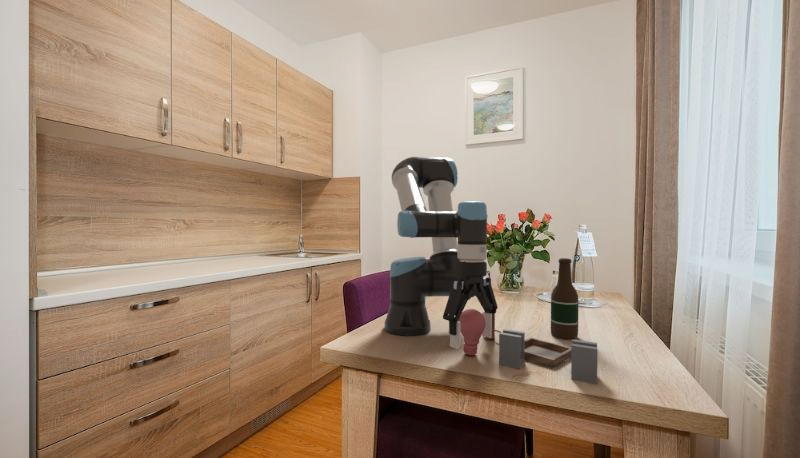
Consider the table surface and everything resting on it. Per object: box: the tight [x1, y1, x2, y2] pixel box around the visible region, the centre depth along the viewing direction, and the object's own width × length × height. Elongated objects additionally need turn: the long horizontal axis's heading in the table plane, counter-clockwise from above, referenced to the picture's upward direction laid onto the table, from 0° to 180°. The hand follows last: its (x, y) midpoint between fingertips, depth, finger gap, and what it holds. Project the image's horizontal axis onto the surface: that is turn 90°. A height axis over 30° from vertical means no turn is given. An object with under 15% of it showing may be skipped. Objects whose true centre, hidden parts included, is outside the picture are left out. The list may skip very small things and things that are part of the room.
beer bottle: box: [550, 257, 580, 340], centre depth 108 cm, size 8×8×24 cm
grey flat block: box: [570, 339, 598, 385], centre depth 78 cm, size 5×5×8 cm
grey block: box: [498, 328, 526, 370], centre depth 86 cm, size 5×5×8 cm
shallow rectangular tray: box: [524, 337, 572, 369], centre depth 92 cm, size 12×12×2 cm
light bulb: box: [458, 308, 486, 356], centre depth 91 cm, size 7×7×12 cm
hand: (471, 341), depth 91 cm, fingers open, 13 cm apart
